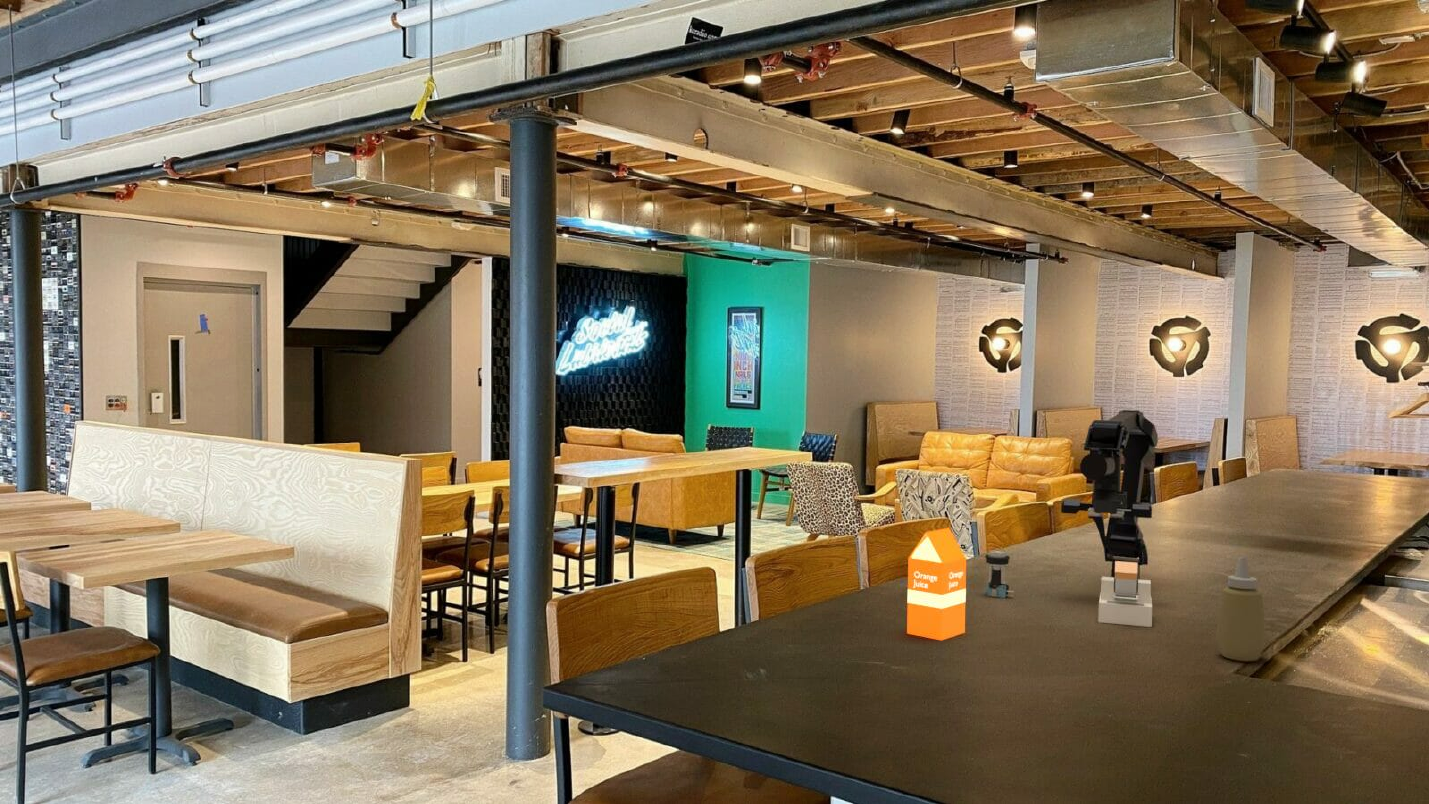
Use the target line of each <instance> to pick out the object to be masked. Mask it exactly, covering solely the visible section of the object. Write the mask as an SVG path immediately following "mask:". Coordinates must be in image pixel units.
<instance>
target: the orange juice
mask: <svg viewBox="0 0 1429 804" xmlns="http://www.w3.org/2000/svg"><path fill="white" fill-rule="evenodd" d="M907 560H908V564H907V565H908V567H907V568H908V569H907V597H906V598H907V601H906V602H907V611H906V612H907V617H906V619H907V620H906V621H907V623H906V626H907V627H906V634H908V635H913V636H918V637H924V638H928V639H932V640H937V641H944V640H947V639H950V638H954V637H955V636H958V635H961V634H965V633H966V601H967V599H966V597H967V587H966V584H967V582H966V581H967V579H966V578H967V557H966V556H965V554H964V553H963V551H962V549H961V547H960V545H959V544H958V541H957V539H956V538H955V536H954V534H953V533H952V531H951V529H950V527H946V528H940V529H935V530H930V531H926V532H925V533H924V534H923V536H922V537H921V539H920V541H919V542H918V543H917V545H916V546H915V547H914V549H913V551H912V552H911V554H910V555H909V556H908V559H907Z"/></svg>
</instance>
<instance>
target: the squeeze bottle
mask: <svg viewBox="0 0 1429 804" xmlns="http://www.w3.org/2000/svg"><path fill="white" fill-rule="evenodd" d="M1257 586H1258V579H1257V578H1255V577H1253V576H1251V572H1250V568H1249V563H1248V558H1247V557H1246V556H1239V557H1238V560H1237V563H1236V568H1235V572H1234V575H1228V576H1227V587H1225V588H1223V589H1222V590H1221V595H1220V604H1219V609H1218V616H1217V617H1218V618H1217V623H1216V624H1217V625H1216V632H1215V637H1216V640H1217V643H1218V646H1219V650H1220V653H1221V655H1222V656H1223V657H1225V659H1226V658H1227V659H1230V660H1233V661H1239V662H1255V661H1259V659H1260V657H1261V654H1262V652H1263V650H1264V647H1265V644H1266V641H1267V635H1266V633H1267V632H1266V623H1265V621H1266V620H1265V612H1264V611H1265V610H1264V599H1263V597H1264V596H1263V593H1262V592H1261V591H1260V590H1258V589H1257Z"/></svg>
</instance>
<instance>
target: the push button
mask: <svg viewBox="0 0 1429 804" xmlns="http://www.w3.org/2000/svg"><path fill="white" fill-rule="evenodd" d="M984 558H985V562H986V564H988V566H989V567H988V569H989V571H988V579H987V581H988V583H985V593H984V594H985V595H986V596H989V597H996V598H1003V599H1004V598H1007V597H1015V595H1013V594H1009V593H1014V592H1015V591H1013V590H1010V586H1009V584H1007V581H1006V567H1007V566H1006V565H1008V564H1010V563H1009V561H1010V558H1011V557H1010V556H1009V555H1007V552H1006V551H1003V550H989V553H988V554H985V556H984Z"/></svg>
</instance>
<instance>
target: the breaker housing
mask: <svg viewBox="0 0 1429 804" xmlns="http://www.w3.org/2000/svg"><path fill="white" fill-rule="evenodd" d="M1100 583H1101V584H1100V585H1101V587H1100V593H1099V601H1098V623H1102V624H1113V625H1115V624H1116V625H1125V626H1136V627H1147V628H1152V627H1153V601H1152V596H1151V592H1152V583H1151V579H1140V580H1139V579H1138V590H1137V594H1136V598H1129V597H1117V596H1115V589H1114V578H1113V577H1111V576H1101V581H1100Z"/></svg>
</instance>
